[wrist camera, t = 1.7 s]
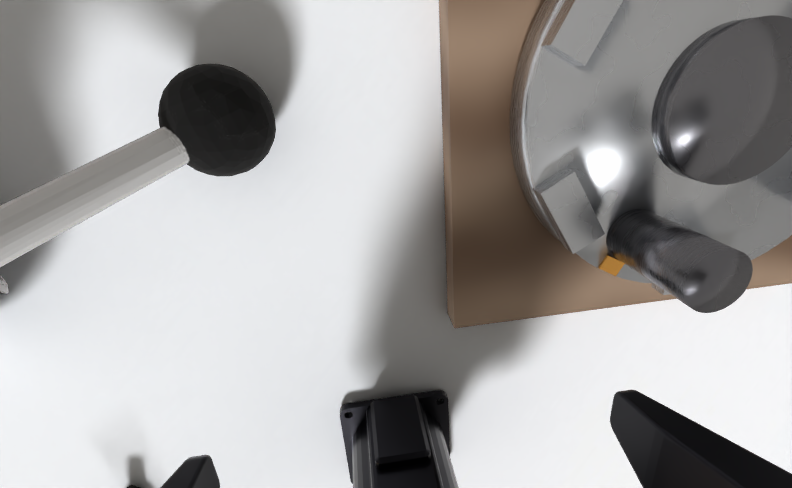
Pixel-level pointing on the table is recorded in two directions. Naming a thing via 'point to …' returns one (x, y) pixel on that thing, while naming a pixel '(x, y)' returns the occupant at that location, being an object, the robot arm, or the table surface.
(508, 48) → the base plate
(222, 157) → the mechanical valve
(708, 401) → the table surface
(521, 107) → the rotary indexing table
